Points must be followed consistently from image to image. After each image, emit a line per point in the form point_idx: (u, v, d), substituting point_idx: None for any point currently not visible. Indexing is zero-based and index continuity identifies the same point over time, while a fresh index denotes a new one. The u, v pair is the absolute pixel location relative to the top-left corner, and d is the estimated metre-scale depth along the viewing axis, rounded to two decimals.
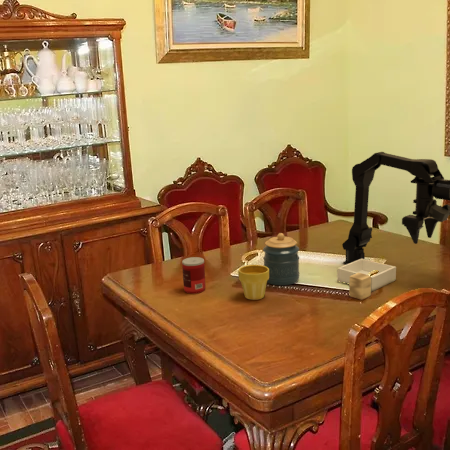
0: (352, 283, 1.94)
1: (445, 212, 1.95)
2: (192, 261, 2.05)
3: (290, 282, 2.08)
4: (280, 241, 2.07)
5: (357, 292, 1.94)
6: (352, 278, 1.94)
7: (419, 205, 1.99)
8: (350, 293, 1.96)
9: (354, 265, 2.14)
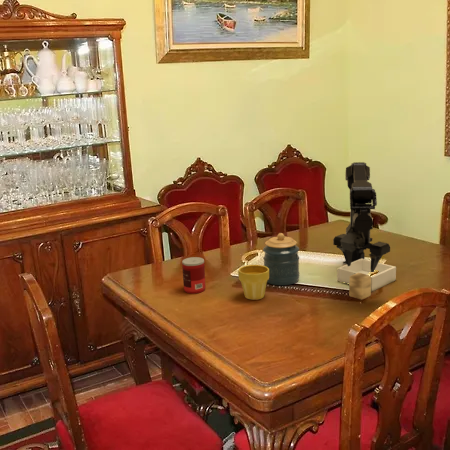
0: (352, 283, 1.94)
1: (345, 241, 1.86)
2: (192, 261, 2.05)
3: (290, 282, 2.08)
4: (280, 241, 2.07)
5: (357, 292, 1.94)
6: (352, 278, 1.94)
7: None
8: (350, 293, 1.96)
9: (354, 265, 2.14)
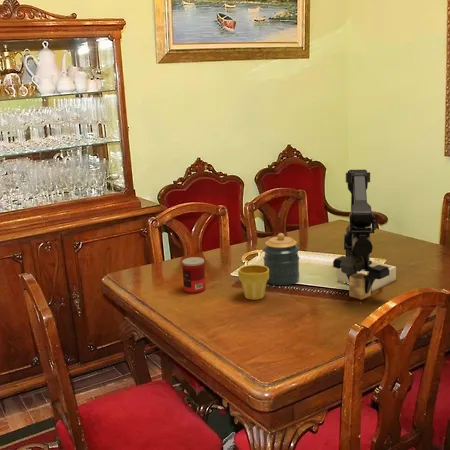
0: (352, 283, 1.94)
1: (345, 264, 1.88)
2: (192, 261, 2.05)
3: (290, 282, 2.08)
4: (280, 241, 2.07)
5: (357, 292, 1.93)
6: (352, 278, 1.94)
7: None
8: (350, 293, 1.96)
9: None
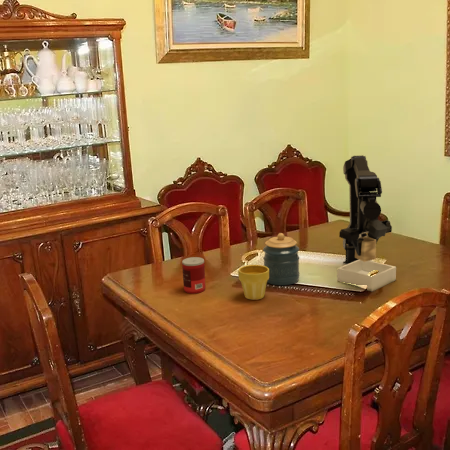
0: (367, 247, 2.00)
1: (381, 228, 1.93)
2: (192, 261, 2.05)
3: (290, 282, 2.08)
4: (280, 241, 2.07)
5: (371, 254, 2.02)
6: (367, 243, 1.99)
7: (359, 219, 1.99)
8: (365, 258, 2.01)
9: (354, 265, 2.14)
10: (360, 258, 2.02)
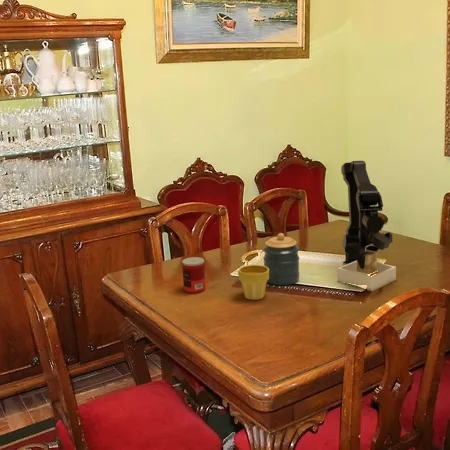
0: (370, 260, 2.04)
1: (386, 240, 1.99)
2: (192, 261, 2.05)
3: (290, 282, 2.08)
4: (280, 241, 2.07)
5: (373, 266, 2.06)
6: (370, 255, 2.04)
7: (362, 233, 2.03)
8: (369, 271, 2.05)
9: (354, 265, 2.14)
10: (363, 271, 2.06)
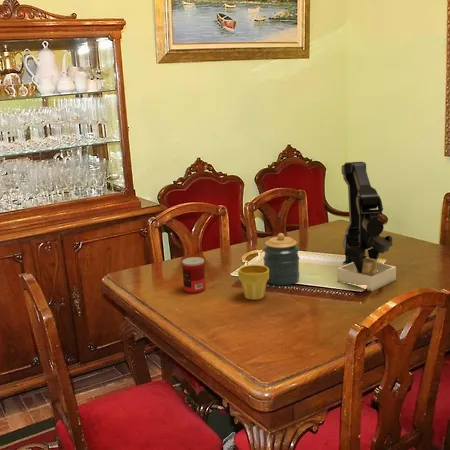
0: (370, 268, 2.05)
1: (386, 244, 1.99)
2: (192, 261, 2.05)
3: (290, 282, 2.08)
4: (280, 241, 2.07)
5: (373, 274, 2.07)
6: (370, 263, 2.05)
7: (362, 236, 2.03)
8: None
9: (354, 265, 2.14)
10: None
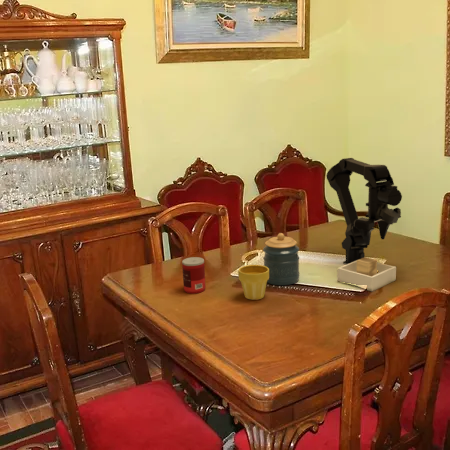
0: (370, 268, 2.05)
1: (394, 215, 2.05)
2: (192, 261, 2.05)
3: (290, 282, 2.08)
4: (280, 241, 2.07)
5: (373, 274, 2.07)
6: (370, 263, 2.05)
7: (371, 208, 2.08)
8: None
9: (354, 265, 2.14)
10: None
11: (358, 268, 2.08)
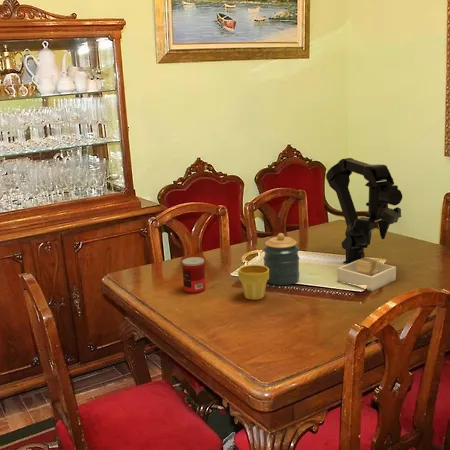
0: (370, 268, 2.05)
1: (395, 215, 2.05)
2: (192, 261, 2.05)
3: (290, 282, 2.08)
4: (280, 241, 2.07)
5: (373, 274, 2.07)
6: (370, 263, 2.05)
7: (371, 208, 2.08)
8: None
9: (354, 265, 2.14)
10: None
11: (358, 268, 2.08)
